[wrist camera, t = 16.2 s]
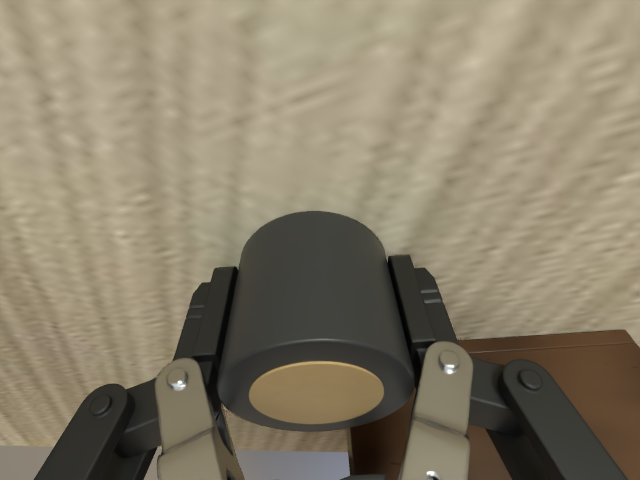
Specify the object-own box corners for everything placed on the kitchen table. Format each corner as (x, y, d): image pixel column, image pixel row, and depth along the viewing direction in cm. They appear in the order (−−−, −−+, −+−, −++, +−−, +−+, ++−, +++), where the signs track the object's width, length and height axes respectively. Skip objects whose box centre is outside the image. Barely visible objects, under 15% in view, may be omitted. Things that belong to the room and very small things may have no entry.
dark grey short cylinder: (255, 315, 16) (240, 439, 12) (224, 216, 12) (187, 352, 8) (381, 306, 16) (406, 429, 12) (390, 204, 12) (430, 336, 8)
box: (346, 430, 25) (358, 581, 19) (342, 347, 18) (360, 552, 12) (544, 418, 25) (617, 568, 19) (625, 329, 17) (784, 530, 12)
